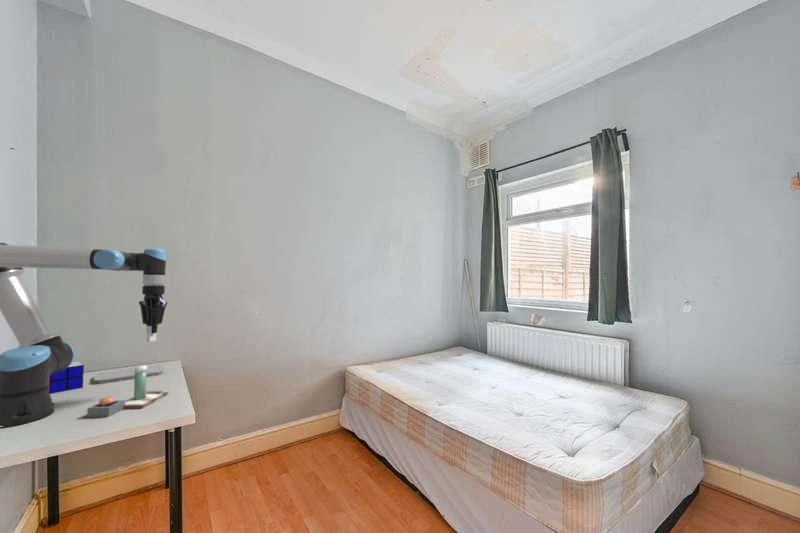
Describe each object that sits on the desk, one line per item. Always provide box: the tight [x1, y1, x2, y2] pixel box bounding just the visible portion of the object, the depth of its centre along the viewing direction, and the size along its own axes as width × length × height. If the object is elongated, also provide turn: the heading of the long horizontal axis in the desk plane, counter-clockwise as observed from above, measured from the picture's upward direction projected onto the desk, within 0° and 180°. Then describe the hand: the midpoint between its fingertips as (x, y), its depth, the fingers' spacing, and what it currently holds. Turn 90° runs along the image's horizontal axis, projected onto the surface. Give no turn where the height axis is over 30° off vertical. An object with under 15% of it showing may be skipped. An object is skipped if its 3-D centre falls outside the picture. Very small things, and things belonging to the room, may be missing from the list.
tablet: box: [93, 364, 165, 385], centre depth 157 cm, size 16×26×2 cm, turn 130°
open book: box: [123, 390, 169, 410], centre depth 123 cm, size 14×10×2 cm
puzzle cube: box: [48, 361, 85, 395], centre depth 138 cm, size 10×10×10 cm
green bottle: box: [133, 364, 148, 400], centre depth 123 cm, size 4×4×12 cm
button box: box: [86, 399, 126, 418], centre depth 113 cm, size 7×7×3 cm
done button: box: [98, 396, 116, 405], centre depth 113 cm, size 4×4×2 cm
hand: (151, 340), depth 134 cm, fingers closed
